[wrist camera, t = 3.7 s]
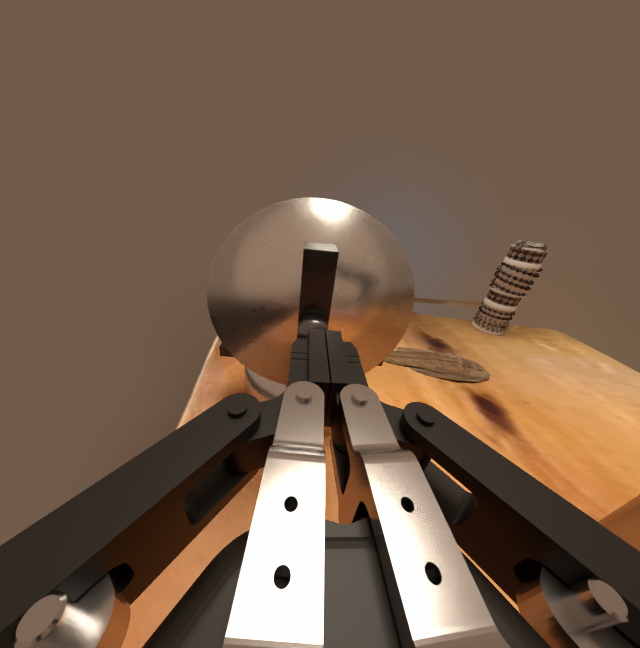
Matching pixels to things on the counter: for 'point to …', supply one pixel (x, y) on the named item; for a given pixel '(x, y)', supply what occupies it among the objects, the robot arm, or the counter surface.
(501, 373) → the counter surface
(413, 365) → the fish fossil
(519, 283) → the decorative candle
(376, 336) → the cooker lid
